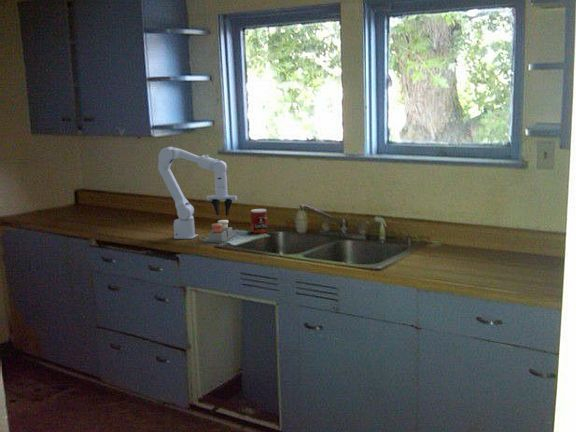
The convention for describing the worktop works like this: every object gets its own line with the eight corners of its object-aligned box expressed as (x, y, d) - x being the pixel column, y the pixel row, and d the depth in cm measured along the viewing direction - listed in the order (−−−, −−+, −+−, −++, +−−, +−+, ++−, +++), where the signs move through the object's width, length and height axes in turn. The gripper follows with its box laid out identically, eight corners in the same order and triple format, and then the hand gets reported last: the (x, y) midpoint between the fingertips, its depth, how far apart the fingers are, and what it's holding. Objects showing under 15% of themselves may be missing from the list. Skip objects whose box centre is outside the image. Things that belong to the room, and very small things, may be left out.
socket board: (204, 242, 310) (204, 233, 309) (216, 234, 325) (216, 227, 324) (225, 242, 307) (224, 234, 307) (236, 235, 323) (235, 227, 322)
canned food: (253, 234, 323) (252, 211, 321) (250, 231, 330) (249, 209, 328) (269, 233, 325) (268, 210, 323) (265, 230, 332) (264, 208, 330)
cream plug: (216, 230, 318) (216, 221, 317) (220, 228, 323) (219, 219, 322) (226, 231, 317) (226, 221, 316) (230, 228, 322) (229, 219, 321)
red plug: (210, 234, 310) (209, 225, 309) (214, 232, 315) (213, 223, 314) (220, 234, 309) (220, 225, 308) (224, 232, 314) (223, 223, 313)
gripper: (238, 185, 318) (239, 213, 321) (209, 185, 322) (211, 213, 324) (233, 187, 312) (235, 216, 314) (204, 187, 315) (206, 216, 318)
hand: (222, 215), depth 319 cm, fingers open, 4 cm apart
